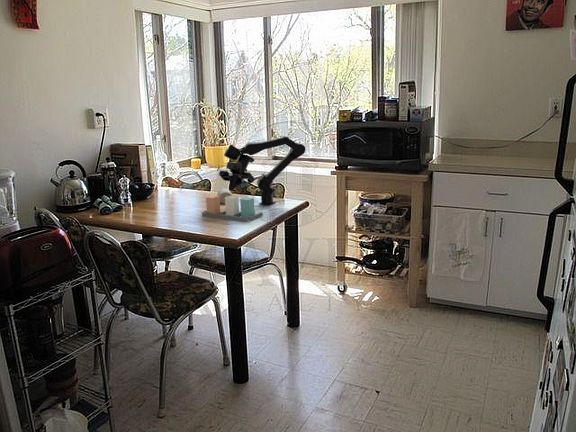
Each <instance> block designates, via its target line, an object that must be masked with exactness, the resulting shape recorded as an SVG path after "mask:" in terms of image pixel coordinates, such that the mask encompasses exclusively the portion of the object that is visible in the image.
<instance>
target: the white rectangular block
mask: <svg viewBox="0 0 576 432" xmlns="http://www.w3.org/2000/svg"><path fill="white" fill-rule="evenodd" d="M224 205H225V211H226V215H229V216H233V215H235V214H238V213H240V199H239V196H237V195H236V196H235V195H232V196H227V197H225V203H224Z"/></svg>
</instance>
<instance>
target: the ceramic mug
mask: <svg viewBox="0 0 576 432" xmlns="http://www.w3.org/2000/svg"><path fill="white" fill-rule="evenodd" d="M216 196H219V199H220V204H225V197H227V196H233V195H232V191H230V190H229V188H226V187H225V188H224V187H223V188H220V189H219V190H217V195H216Z"/></svg>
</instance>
